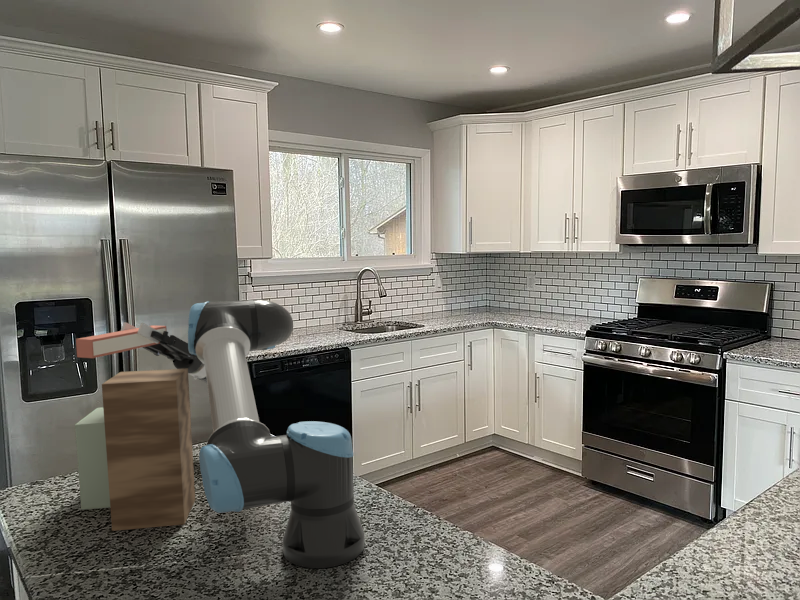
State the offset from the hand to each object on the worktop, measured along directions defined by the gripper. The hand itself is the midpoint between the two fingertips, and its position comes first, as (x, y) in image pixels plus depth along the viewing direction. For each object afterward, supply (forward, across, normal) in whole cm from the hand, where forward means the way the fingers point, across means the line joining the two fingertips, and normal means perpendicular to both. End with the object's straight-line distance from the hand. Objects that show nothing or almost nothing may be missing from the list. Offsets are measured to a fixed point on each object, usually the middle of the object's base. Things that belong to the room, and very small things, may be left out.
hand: (131, 327), depth 140 cm
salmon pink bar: (0, 0, -5) cm, 5 cm away
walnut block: (-9, -16, -39) cm, 43 cm away
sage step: (-14, 0, -36) cm, 39 cm away
